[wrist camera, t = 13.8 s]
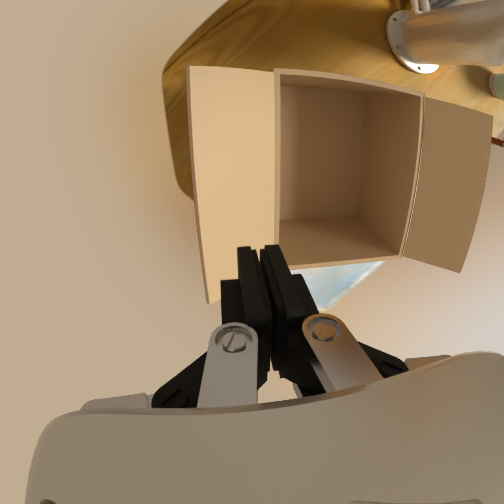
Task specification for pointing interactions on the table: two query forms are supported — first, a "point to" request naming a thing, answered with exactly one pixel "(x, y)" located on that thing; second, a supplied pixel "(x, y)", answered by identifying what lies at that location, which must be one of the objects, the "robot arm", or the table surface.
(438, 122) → the back flap
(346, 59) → the table surface
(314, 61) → the table surface
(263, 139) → the front flap
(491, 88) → the coffee cup
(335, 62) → the table surface
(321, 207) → the carton
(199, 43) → the table surface
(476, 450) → the robot arm
